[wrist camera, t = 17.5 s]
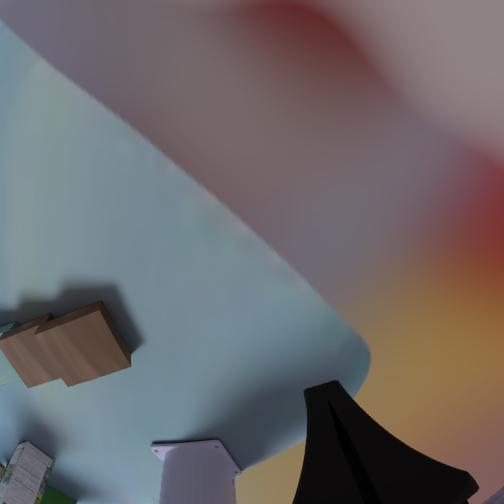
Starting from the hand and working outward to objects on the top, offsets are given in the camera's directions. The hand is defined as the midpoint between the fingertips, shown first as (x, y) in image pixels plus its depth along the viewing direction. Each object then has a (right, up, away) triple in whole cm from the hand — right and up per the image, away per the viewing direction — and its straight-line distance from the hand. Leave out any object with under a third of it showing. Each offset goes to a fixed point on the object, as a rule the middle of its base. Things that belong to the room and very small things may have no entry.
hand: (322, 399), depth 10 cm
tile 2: (-18, -1, +8) cm, 20 cm away
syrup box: (-38, -26, +16) cm, 49 cm away
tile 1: (-13, 0, +8) cm, 15 cm away
